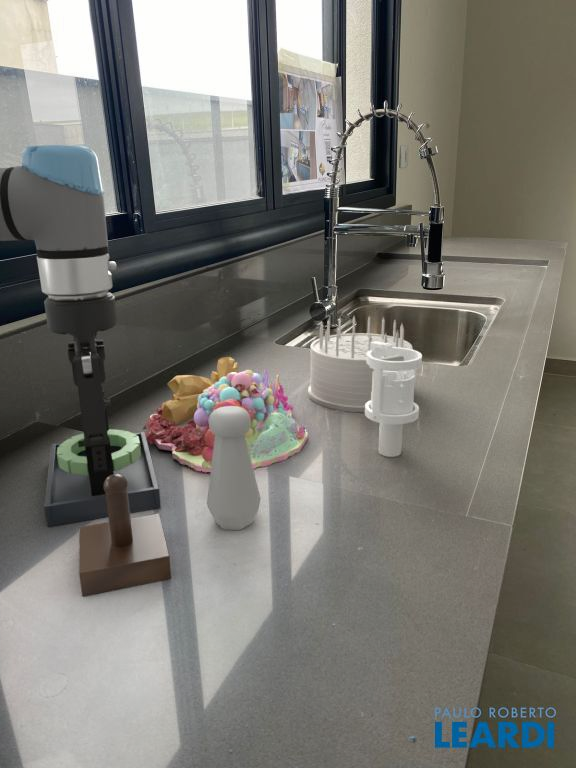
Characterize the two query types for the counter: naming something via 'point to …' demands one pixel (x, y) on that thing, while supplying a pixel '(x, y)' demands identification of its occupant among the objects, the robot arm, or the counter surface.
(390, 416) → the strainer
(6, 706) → the counter surface
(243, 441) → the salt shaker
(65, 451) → the ring
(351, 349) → the cake
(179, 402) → the multicoloured round lumpy mound
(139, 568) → the stand
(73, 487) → the tray
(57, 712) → the counter surface
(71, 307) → the robot arm
